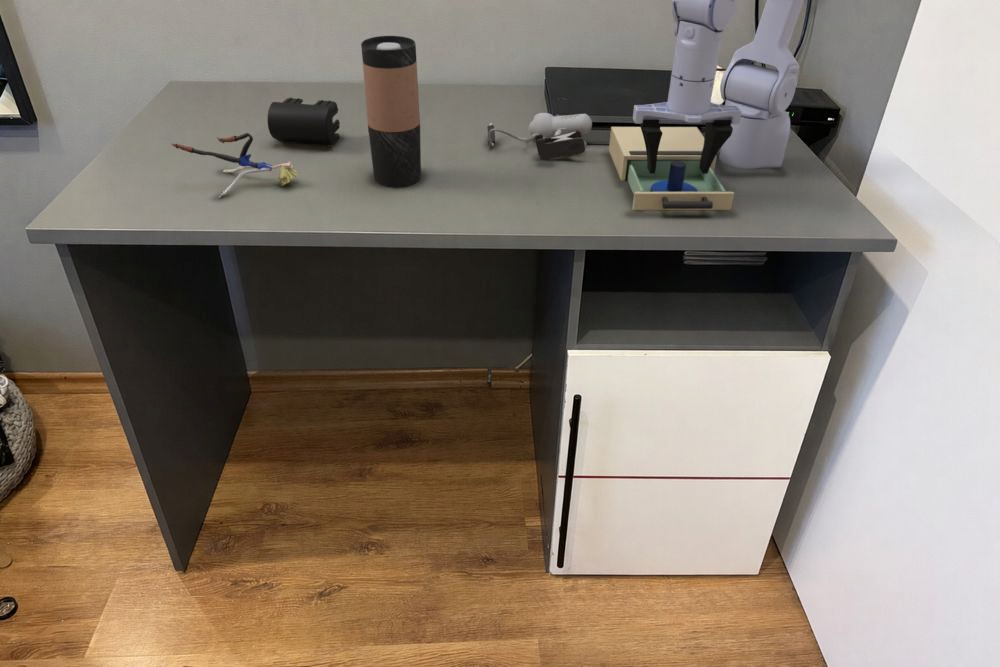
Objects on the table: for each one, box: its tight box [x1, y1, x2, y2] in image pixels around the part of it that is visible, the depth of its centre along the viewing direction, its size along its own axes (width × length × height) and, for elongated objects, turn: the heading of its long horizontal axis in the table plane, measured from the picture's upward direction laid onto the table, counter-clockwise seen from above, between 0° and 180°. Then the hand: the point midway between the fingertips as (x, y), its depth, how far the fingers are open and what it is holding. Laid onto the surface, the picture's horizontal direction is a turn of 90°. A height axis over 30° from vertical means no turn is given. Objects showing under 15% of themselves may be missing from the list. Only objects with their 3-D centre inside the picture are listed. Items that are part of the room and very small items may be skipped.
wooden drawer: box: [625, 160, 735, 211], centre depth 110 cm, size 14×14×3 cm
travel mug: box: [360, 35, 422, 188], centre depth 110 cm, size 8×8×20 cm
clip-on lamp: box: [486, 112, 593, 161], centre depth 124 cm, size 12×6×18 cm
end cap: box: [267, 97, 341, 147], centre depth 124 cm, size 10×7×7 cm
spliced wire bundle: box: [170, 132, 299, 199], centre depth 110 cm, size 10×9×20 cm
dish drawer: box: [608, 126, 718, 182], centre depth 118 cm, size 14×12×5 cm
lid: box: [650, 161, 698, 192], centre depth 109 cm, size 7×7×5 cm
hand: (677, 170), depth 108 cm, fingers open, 7 cm apart
